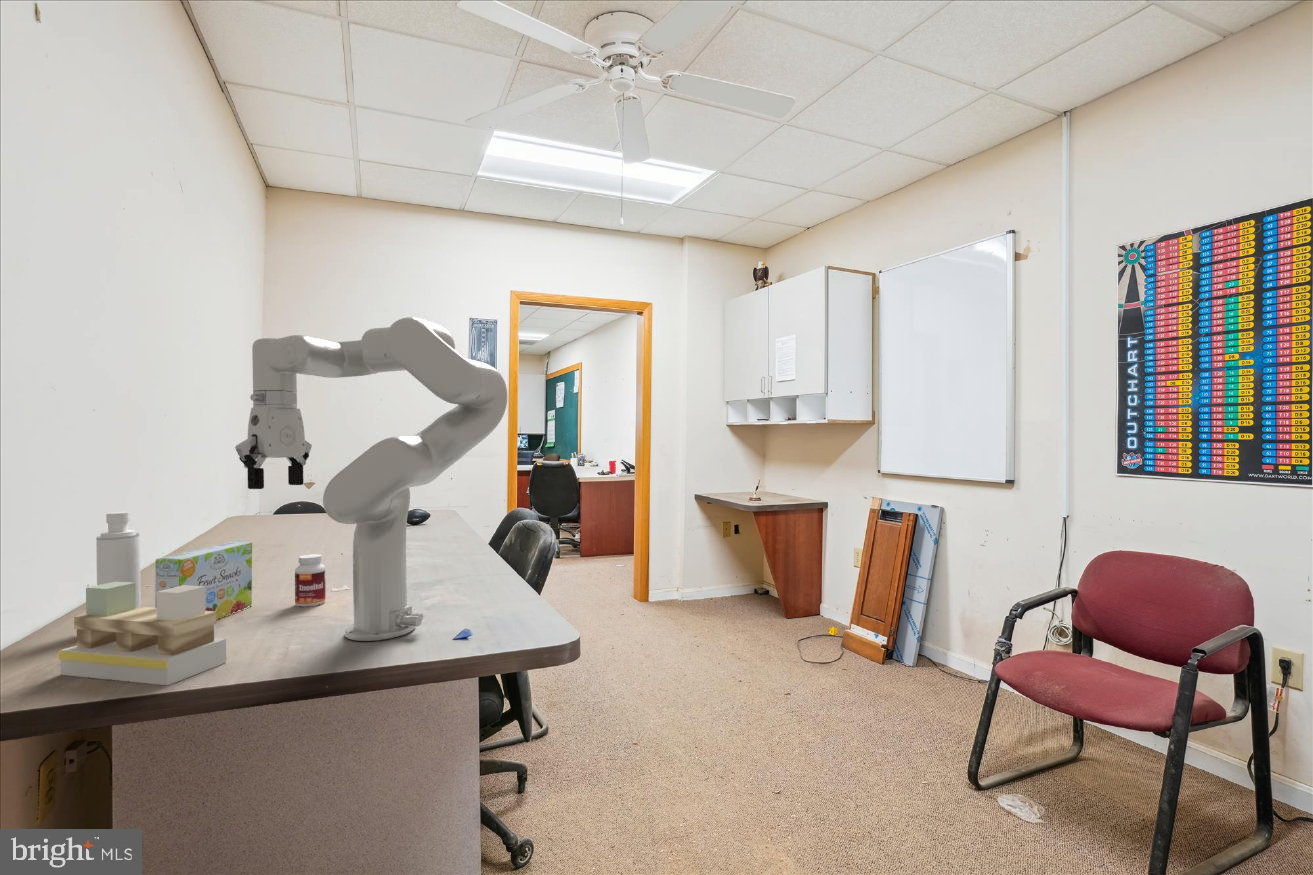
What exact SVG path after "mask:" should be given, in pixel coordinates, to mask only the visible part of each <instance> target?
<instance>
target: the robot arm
mask: <svg viewBox="0 0 1313 875" xmlns="http://www.w3.org/2000/svg"><path fill="white" fill-rule="evenodd" d="M455 347H456V344H455V341H454V338H453V335H452V334H451V333H450V332H449V331H448V330H447V329H446V328H445V327H443V326H441V325H440V324H437V323H434V322H430V321H427V320H425V319H422V318H419V317H413V316H409V317H408V316H407V317H403V318H399V319H398V320H395V321H394V322H393V323H392V324H391V325H390V326H389V327H373V328H370V329H368V330H366V331H365V332H364V334H362V337H361V339H360V340H349V341H330V340H326V339H322V338H318V337H314V336H313V337H312V336H308V335H304V334H303V335H302V334H293V335H288V336H283V337H280V338H273V337H264V338H258V339H256V340H254V342H253V344H252V346H251V348H252V354H251V355H252V393H251V395H250V397H249V398H250V401H252V407H251V409H250V412H249V419H248V424H247V426H248V427H247V438H246V439H245V440H243V441H242V442H240V443H238V444H236V446H235V450H236V453H237V455H238V456H239V457H238V458H239V461H240V462H241V463H242V464H243V467H244V469H247V489H248V490H262V489H264V488H265V474H264V473H265V470H264V468H263V467H262V465H263V464H264V462H265V461H266V459H267V458H269V459H271V458H272V459H274V458H277V459H279V458H285V459H286V460H287V461H288V463H289V464H290V465H287V466H288V467H287V472H288V473H287V477H288V479H287V480H288V485H289V486H302V485H304V466H305V465H306V464H307V460H308V459H309V456H310V453H311V451H312V450H311V449H312V448H313V446H312V443H310V442H308V441H307V440H306V437H305V436H306V435H305V426H304V421H303V416H302V411H301V409H300V408H298V390H297V389H298V388H297V386H298V385H297V384H298V382H297V380H298V379H297V374H299V375H305V376H312V377H314V376H315V377H322V378H328V379H331V378H333V379H334V378H335V379H336V378H339V379H340V378H351V377H353V378H354V377H361V376H371V375H375V374H378V373H379V374H380V373H388V372H401V371H407V372H408V373H409V374H410V375H411V376H412V377H413V378H415V379H416V380H417V381H418V382H419V383H420V384H422V386H424V387H425V388H426V389H427V390H428V391H430V392H431V393H432V394H433V395H435V396H436V397H438V398H439V399H440V400H442V401H444V402H445V403H449V404H453V405H455V407H454V408H452V409H451V410H449V411H446V412H445V413H444V414H442V415H440V416H439V417H437V418H436V419H435V420H434V421H433V422H431V423H430V424H429V425H428V426H426V427H425V428H424V429H422V430H421V431H420V432H417V433H416V434H413V435H405V436H403V435H401V436H399V435H398V436H392V437H387V438H384V439H382V440H380V441H378V442H376V443H375V444H373V445H372V446H370V447H369V448H368V449H366V451H364V452H363V453H362V454H360V455H358V457H357V458H355V459H354V460H353V461H352V462H350V463H349V464H348V465H347V466H345V467H344V468H343V469H342V470H340V471H339V472H338V473H337V474H336V475H335V476H333V477H332V478H331V480H330V481H329V482H328V484H327V485H326V487H325V489H324V492H323V496H322V504H323V509H324V511H325V514H326V515H327V516H328V517H329V518H330V519H331V520H333V521H335V522H337V523H339V524H343V525H355V524H356V525H355V529H354V532H353V538H352V580H353V581H352V583H353V584H352V588H353V590H352V592H353V594H352V595H353V623H352V624H350V625H349V626H347V627H346V628H345V630H344V636H345V638H347V639H349V640H352V641H358V642H373V641H375V642H376V641H381V640H382V641H384V640H389V639H393V638H394V639H395V638H398V637H401V636H405V635H407V634H409V633H411V632H413V631H414V629H416V627H420V626H421V625H422V622H423V619H424V614H423V613H421V612H420V613H417V612H416V613H413V605H408V599H407V598H408V595H407V594H408V590H407V589H408V588H407V586H408V585H407V584H408V583H407V579H408V578H407V524H408V522H407V521H408V514H409V509H410V503H411V490H410V488H413V487H420V486H424V485H425V486H426V485H427V484H430V483H431V482H433V481H435V480H436V479H437V478H439V476H440V475H441V474H443V473H444V472H445V471H446V470H447V469H449V468H450V467H452V466H453V465H454V464H455V463H456V462H458V461H459V460H461V459H462V458H463V457H464V456H465V455H466V454H467V453H468V452H470V451H471V450H472V449H473V448H475V447H476V446H477V445H478V444H480V443H481V442H482V441H483V440H485V439H486V438H487V437H488V436H489V435H490V434H491V433H492V432H493V431H494V430H495V429H496V428H497V427H498V425H499V424H500V423H501V421H502V419H503V417H504V415H505V412H506V410H507V406H508V390H507V385H506V381H505V380H504V378H503V375H502V374H501V373H500V372H499V371H498V369H496V368H495V367H493V366H491V365H489V364H487V363H484V362H481V361H477V360H473V359H470V358H466V357H464V356H462V355H461V354H460V353H458V352H457V350H456V348H455ZM456 405H457V406H456Z"/></svg>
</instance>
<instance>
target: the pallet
mask: <svg viewBox="0 0 1313 875" xmlns="http://www.w3.org/2000/svg"><path fill="white" fill-rule="evenodd" d="M73 623H74V625H73V627H74V628H73V629H74V630H76V646H77V647H79V648H94V647H97V646H101V645H104V644H107V643H111V642H114V641H117V651H126V652H133V651H136V650H139V649H142V648H145V647H148V646H151V645H154V644H157V643H158V654H161V655H176V654H179V653H182V652H185V651H188V650H191V649H193V648H196V647H199V646H202V645H205V644H208V643H211V642H213V641H214V638H215V625H216V624H217V621H216V612H214V611H205V614H202V615H199V616H195V617H192V618H189V619H185V620H182V621H167V620H157V608H155V607H151V606H149V607H147V606H141V607H136V609H133V610H129V611H125V612H122V613H118V614H114V615H110V616H96V615H86V613H83V614H79V615H75V616H73Z"/></svg>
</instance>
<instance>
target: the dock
mask: <svg viewBox="0 0 1313 875" xmlns="http://www.w3.org/2000/svg"><path fill="white" fill-rule="evenodd" d="M57 653H58V655H57V657H58V660H59V661H60V675H61V676H68V677H69V676H70V677H71V676H72V677H78V678H88V677H90V679H91V678H92V677H93V678H92V679H98V680H108V679H110V681H118V680H119V681H122V682H128V681H129V682H130V683H140V684H151V685H157V686H158V685H159V686H170V685H172V684H176V683H177V682H180V681H183V680H186V679H188V678H190V677H193V676H196V675H198V674H201V673H204V672H207V671H209V670H210V669H211V670H212V669H213V668H216V667H218V666H220V665H224V664H226V663H227V638H221V637H220V638H217V637H214V641H213V642H211V643H208V644H205V645H202V646H199V647H196V648H193V649H191V650H188V651H185V652H182V653H179V654H176V655H161V654H158V643H157V644H154V645H151V646H148V647H145V648H142V649H139V650H136V651H133V652H126V651H117V641H114V642H111V643H107V644H104V645H101V646H97V647H94V648H79V647H77V645H73V646H71V647H67V648H63V649H60V651H58V652H57ZM225 662H226V663H225ZM111 679H112V680H111ZM129 682H128V683H129Z"/></svg>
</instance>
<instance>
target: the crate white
mask: <svg viewBox="0 0 1313 875" xmlns="http://www.w3.org/2000/svg"><path fill="white" fill-rule="evenodd" d="M156 597H157V620H167V621H182V620H185V619H189V618H192V617H195V616H199V615H202V614H205V586H189V585H182V586H178V587H174V588H170V589H166V590H162V591H158V592H156Z"/></svg>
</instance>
